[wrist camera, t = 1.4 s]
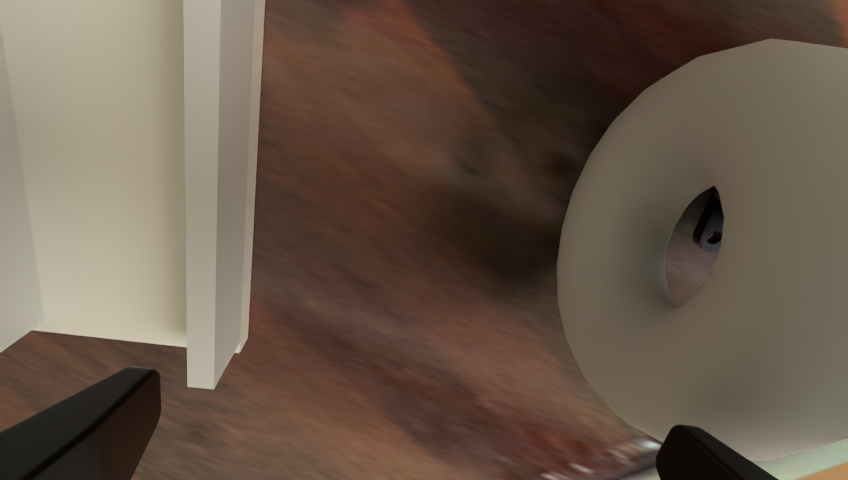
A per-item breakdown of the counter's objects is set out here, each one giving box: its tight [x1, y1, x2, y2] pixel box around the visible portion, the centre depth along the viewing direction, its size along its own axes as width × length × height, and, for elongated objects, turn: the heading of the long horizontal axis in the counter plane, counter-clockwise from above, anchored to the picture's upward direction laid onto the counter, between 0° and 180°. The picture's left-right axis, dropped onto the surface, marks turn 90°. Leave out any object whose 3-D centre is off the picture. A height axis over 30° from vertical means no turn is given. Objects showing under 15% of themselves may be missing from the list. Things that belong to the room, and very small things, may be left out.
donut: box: [557, 39, 848, 461], centre depth 11 cm, size 10×4×10 cm, turn 166°
